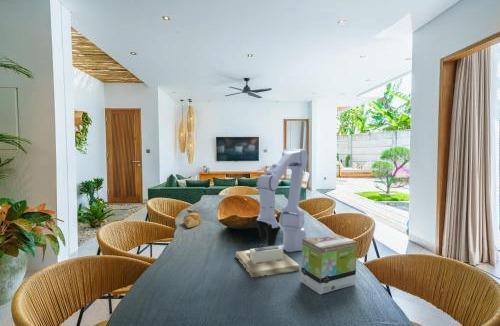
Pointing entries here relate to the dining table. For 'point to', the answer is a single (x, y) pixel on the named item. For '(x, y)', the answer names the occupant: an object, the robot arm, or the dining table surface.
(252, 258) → the white and grey block
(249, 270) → the keyhole board
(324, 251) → the tea box
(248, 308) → the dining table surface
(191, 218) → the croissant
